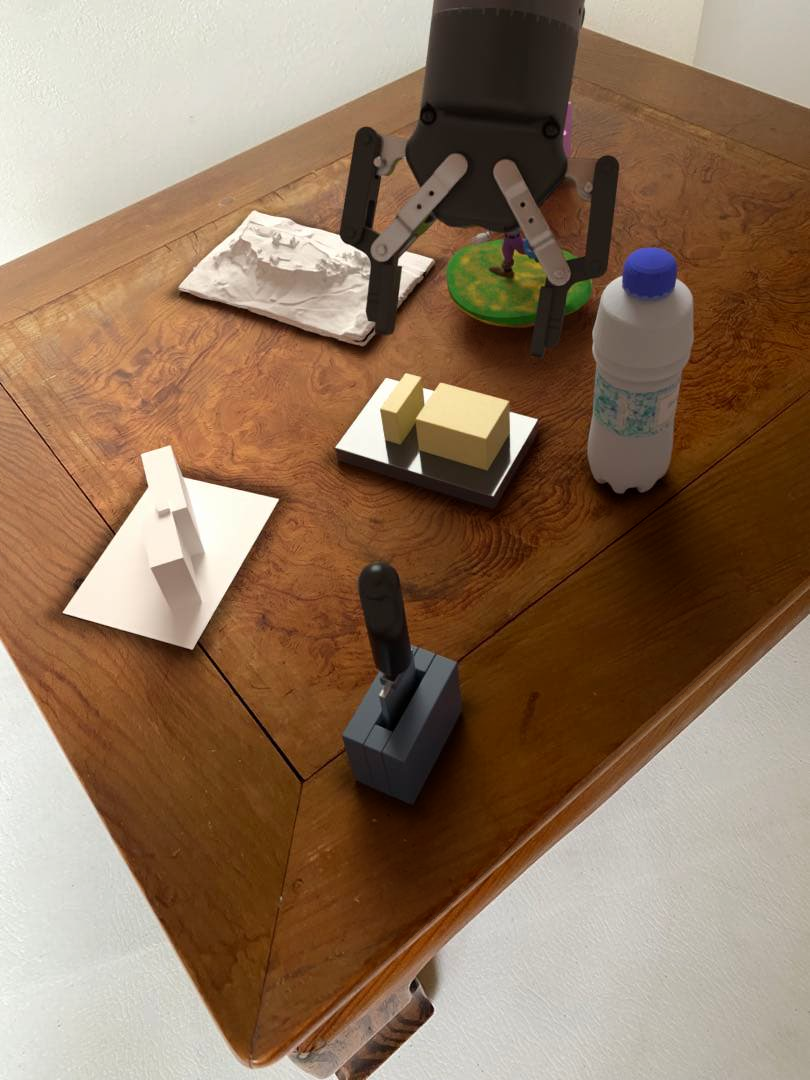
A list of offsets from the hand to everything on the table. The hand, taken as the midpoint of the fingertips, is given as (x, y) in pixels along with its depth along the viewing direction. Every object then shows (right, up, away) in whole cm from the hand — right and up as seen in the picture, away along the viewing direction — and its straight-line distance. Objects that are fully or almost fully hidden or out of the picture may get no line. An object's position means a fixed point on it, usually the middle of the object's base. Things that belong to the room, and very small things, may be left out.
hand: (460, 345), depth 54 cm
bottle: (+14, -5, +23) cm, 28 cm away
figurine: (+7, +11, +37) cm, 40 cm away
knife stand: (-3, -24, +10) cm, 26 cm away
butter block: (+2, -3, +25) cm, 25 cm away
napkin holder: (-21, -12, +22) cm, 33 cm away
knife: (-3, -24, +10) cm, 26 cm away
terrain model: (-13, +15, +43) cm, 47 cm away
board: (0, -3, +27) cm, 27 cm away
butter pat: (-3, -1, +27) cm, 27 cm away
